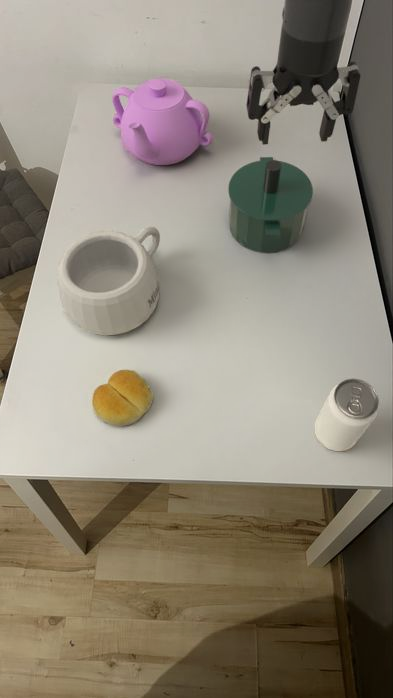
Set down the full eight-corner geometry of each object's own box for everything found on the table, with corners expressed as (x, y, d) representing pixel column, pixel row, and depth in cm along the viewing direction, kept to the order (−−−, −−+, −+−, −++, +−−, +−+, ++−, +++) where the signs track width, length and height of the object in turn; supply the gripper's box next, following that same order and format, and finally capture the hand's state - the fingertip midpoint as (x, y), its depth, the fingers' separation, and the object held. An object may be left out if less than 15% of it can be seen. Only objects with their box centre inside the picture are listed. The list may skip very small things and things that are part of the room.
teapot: (91, 176, 102) (75, 115, 90) (131, 111, 112) (121, 48, 100) (193, 198, 98) (190, 138, 86) (224, 129, 108) (226, 66, 96)
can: (311, 446, 73) (327, 415, 63) (316, 406, 76) (333, 371, 66) (356, 456, 72) (380, 427, 62) (359, 415, 75) (383, 381, 65)
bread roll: (84, 404, 77) (78, 393, 74) (128, 367, 80) (124, 355, 77) (118, 440, 74) (113, 430, 71) (163, 400, 77) (160, 390, 74)
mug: (117, 358, 81) (106, 325, 72) (45, 308, 86) (26, 271, 78) (197, 273, 89) (195, 235, 81) (126, 232, 95) (118, 191, 86)
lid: (307, 164, 91) (313, 135, 86) (316, 223, 84) (323, 196, 79) (227, 165, 91) (228, 136, 86) (229, 224, 84) (230, 197, 79)
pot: (297, 188, 99) (304, 153, 92) (306, 264, 90) (315, 231, 82) (228, 189, 99) (229, 154, 92) (230, 265, 90) (232, 232, 83)
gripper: (257, 42, 56) (247, 159, 71) (383, 36, 57) (347, 154, 71) (250, 6, 60) (242, 125, 74) (368, 0, 60) (337, 120, 74)
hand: (293, 139), depth 72 cm, fingers open, 8 cm apart
